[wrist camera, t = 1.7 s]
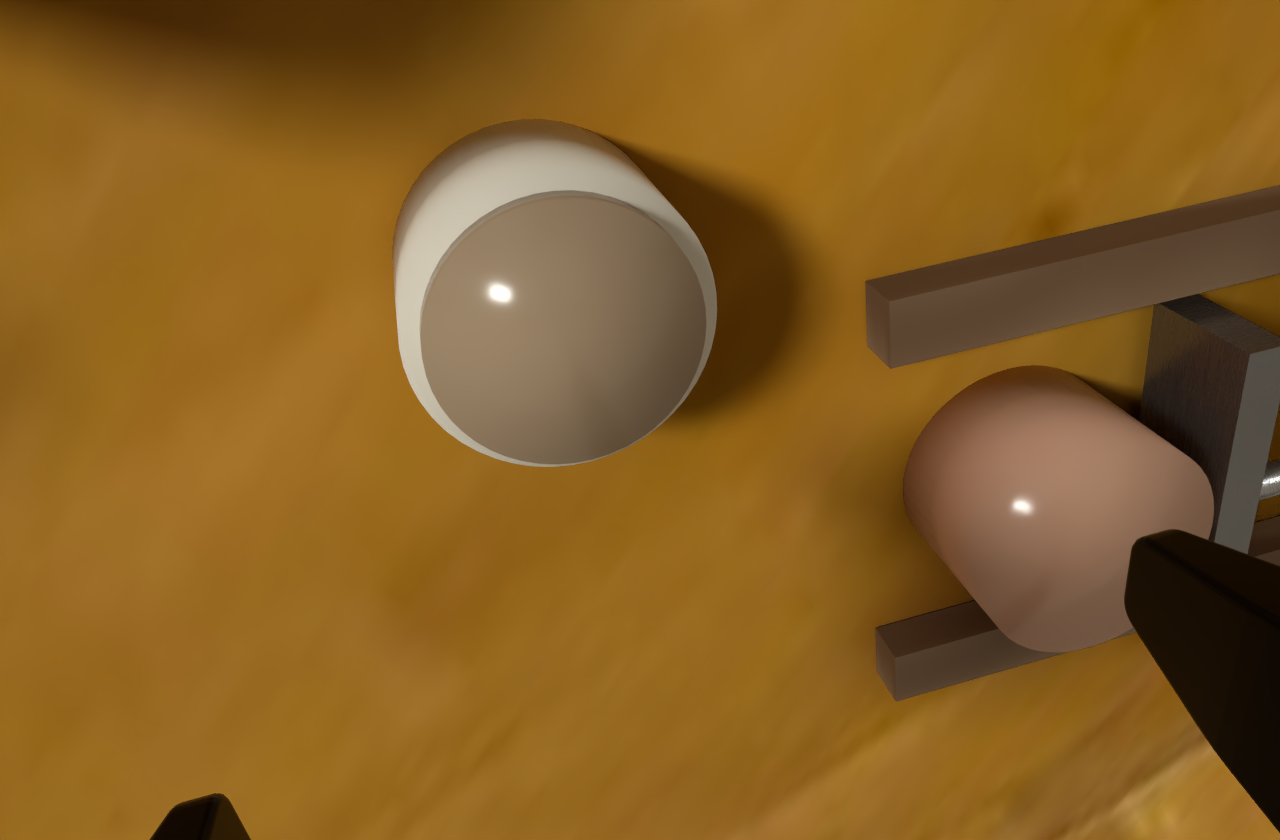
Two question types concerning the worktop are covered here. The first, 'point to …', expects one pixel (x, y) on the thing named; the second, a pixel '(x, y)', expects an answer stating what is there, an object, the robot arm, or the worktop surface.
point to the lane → (1035, 302)
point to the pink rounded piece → (1047, 502)
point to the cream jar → (548, 295)
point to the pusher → (1216, 405)
